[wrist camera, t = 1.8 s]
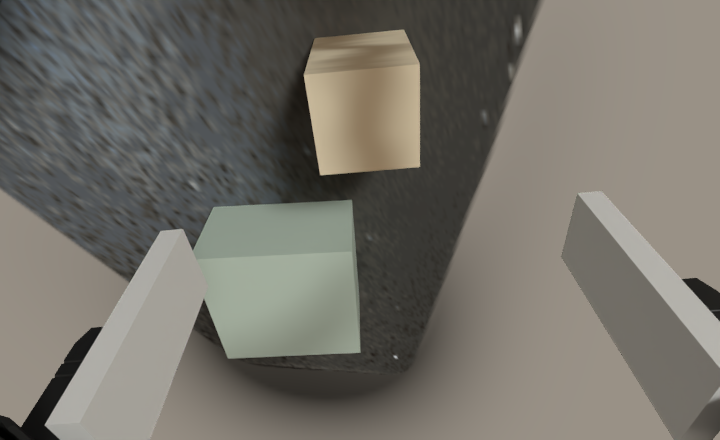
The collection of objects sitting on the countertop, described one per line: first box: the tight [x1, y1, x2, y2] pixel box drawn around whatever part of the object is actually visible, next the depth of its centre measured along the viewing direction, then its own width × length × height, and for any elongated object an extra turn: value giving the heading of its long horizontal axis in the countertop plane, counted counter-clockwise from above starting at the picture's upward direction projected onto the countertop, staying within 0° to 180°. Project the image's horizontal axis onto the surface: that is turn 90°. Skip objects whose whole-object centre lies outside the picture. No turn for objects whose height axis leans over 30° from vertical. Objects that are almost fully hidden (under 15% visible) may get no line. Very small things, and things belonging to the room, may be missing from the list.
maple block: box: [304, 30, 420, 175], centre depth 26 cm, size 6×6×8 cm
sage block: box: [193, 200, 360, 359], centre depth 37 cm, size 12×12×7 cm
